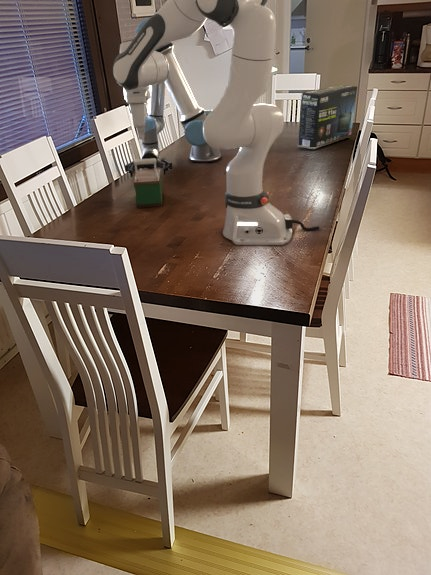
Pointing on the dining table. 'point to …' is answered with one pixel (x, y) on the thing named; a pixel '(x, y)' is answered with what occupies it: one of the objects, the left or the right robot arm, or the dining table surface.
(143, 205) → the green box
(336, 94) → the router box
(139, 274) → the dining table surface
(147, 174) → the lid
